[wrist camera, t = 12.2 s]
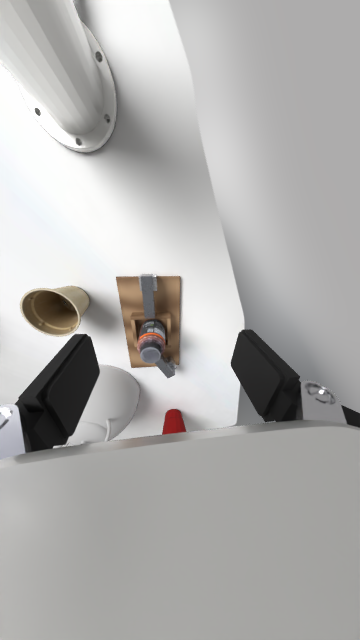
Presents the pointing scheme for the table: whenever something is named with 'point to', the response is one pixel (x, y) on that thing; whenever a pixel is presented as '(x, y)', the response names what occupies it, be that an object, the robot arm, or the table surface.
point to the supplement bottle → (151, 341)
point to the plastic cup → (173, 422)
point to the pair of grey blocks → (148, 287)
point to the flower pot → (54, 309)
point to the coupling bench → (164, 311)
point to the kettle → (107, 407)
